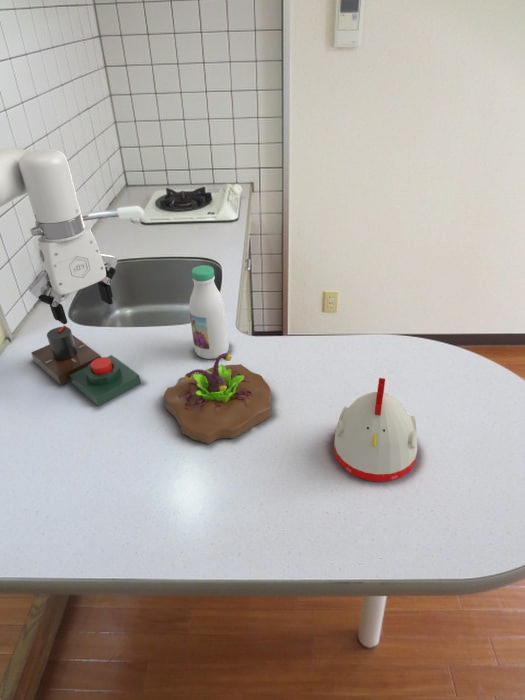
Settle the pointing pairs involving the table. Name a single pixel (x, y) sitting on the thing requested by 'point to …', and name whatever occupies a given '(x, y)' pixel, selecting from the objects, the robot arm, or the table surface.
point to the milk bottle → (207, 315)
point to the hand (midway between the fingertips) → (85, 311)
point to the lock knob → (62, 343)
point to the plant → (219, 401)
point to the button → (101, 366)
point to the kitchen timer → (376, 437)
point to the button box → (105, 381)
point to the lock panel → (64, 361)
